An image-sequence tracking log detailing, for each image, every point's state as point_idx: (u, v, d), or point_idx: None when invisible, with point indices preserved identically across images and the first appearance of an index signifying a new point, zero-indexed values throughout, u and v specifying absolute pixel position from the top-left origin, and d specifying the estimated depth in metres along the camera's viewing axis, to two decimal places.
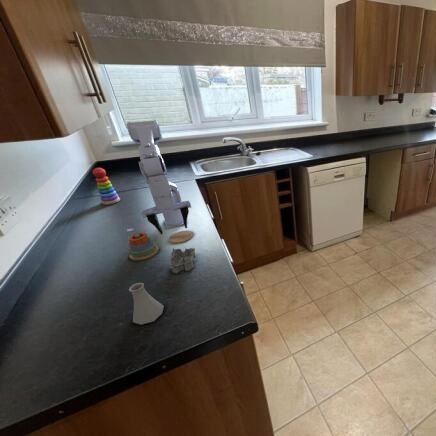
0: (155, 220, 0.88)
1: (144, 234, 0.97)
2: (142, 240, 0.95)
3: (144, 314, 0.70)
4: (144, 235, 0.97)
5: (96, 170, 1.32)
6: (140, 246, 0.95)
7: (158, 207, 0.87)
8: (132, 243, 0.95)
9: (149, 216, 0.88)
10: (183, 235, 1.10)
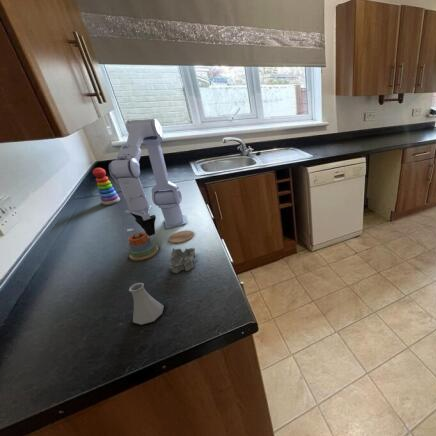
0: (131, 214, 0.93)
1: (144, 234, 0.97)
2: (142, 240, 0.95)
3: (144, 314, 0.70)
4: (144, 235, 0.97)
5: (96, 170, 1.32)
6: (140, 246, 0.95)
7: None
8: (132, 243, 0.95)
9: None
10: (183, 235, 1.10)
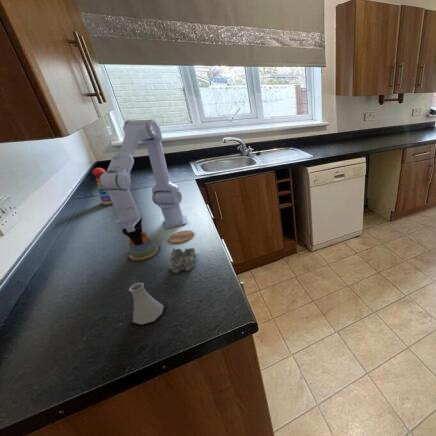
0: None
1: (144, 234, 0.97)
2: None
3: (144, 314, 0.70)
4: (144, 235, 0.97)
5: (96, 170, 1.32)
6: (140, 246, 0.95)
7: None
8: (132, 243, 0.95)
9: None
10: (183, 235, 1.10)
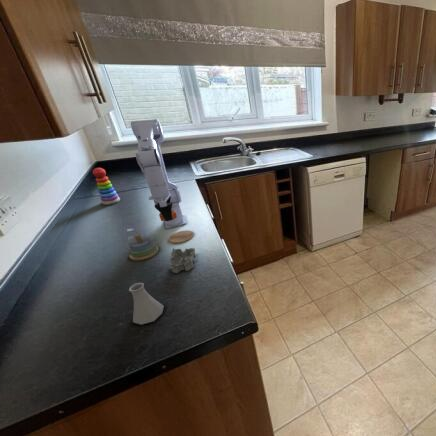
0: None
1: (173, 211, 1.03)
2: None
3: (143, 314, 0.70)
4: (173, 212, 1.03)
5: (96, 170, 1.32)
6: (140, 246, 0.95)
7: None
8: (162, 219, 1.01)
9: None
10: (183, 235, 1.10)
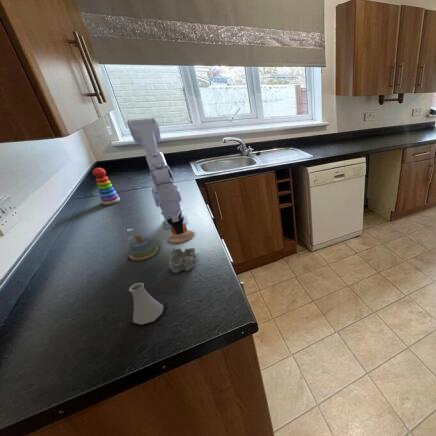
0: None
1: (184, 225, 1.08)
2: None
3: (144, 314, 0.70)
4: (184, 225, 1.08)
5: (96, 170, 1.32)
6: (140, 246, 0.95)
7: None
8: (174, 232, 1.05)
9: None
10: (183, 235, 1.10)
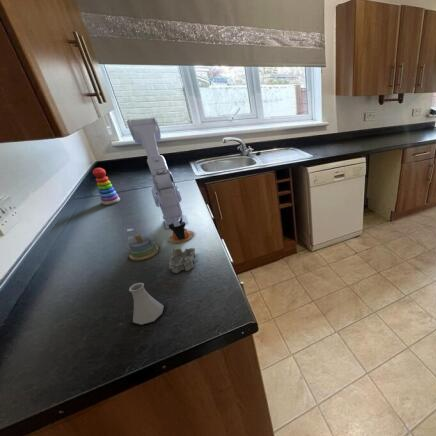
0: None
1: (185, 230, 1.09)
2: None
3: (144, 314, 0.70)
4: (185, 230, 1.09)
5: (96, 170, 1.32)
6: (140, 246, 0.95)
7: None
8: (176, 238, 1.07)
9: None
10: None
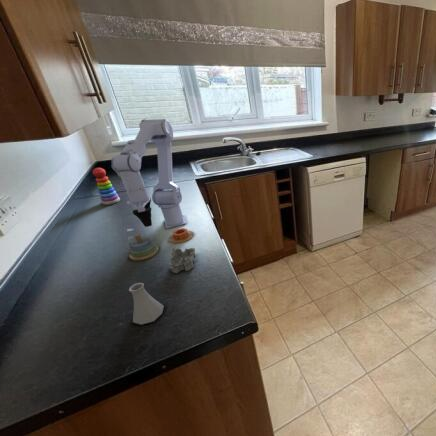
0: None
1: (185, 230, 1.09)
2: (184, 235, 1.07)
3: (144, 314, 0.70)
4: (185, 230, 1.09)
5: (96, 170, 1.32)
6: (140, 246, 0.95)
7: None
8: (176, 238, 1.07)
9: None
10: None
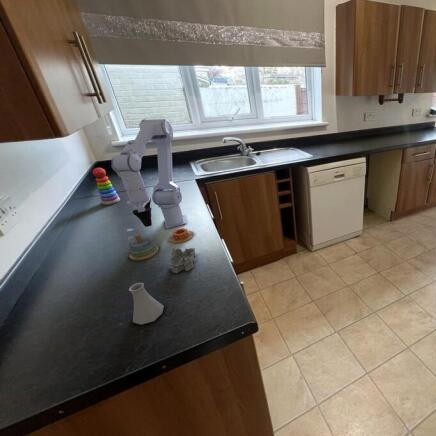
0: None
1: (185, 230, 1.09)
2: (184, 235, 1.07)
3: (144, 314, 0.70)
4: (185, 230, 1.09)
5: (96, 170, 1.32)
6: (140, 246, 0.95)
7: None
8: (176, 238, 1.07)
9: None
10: None
